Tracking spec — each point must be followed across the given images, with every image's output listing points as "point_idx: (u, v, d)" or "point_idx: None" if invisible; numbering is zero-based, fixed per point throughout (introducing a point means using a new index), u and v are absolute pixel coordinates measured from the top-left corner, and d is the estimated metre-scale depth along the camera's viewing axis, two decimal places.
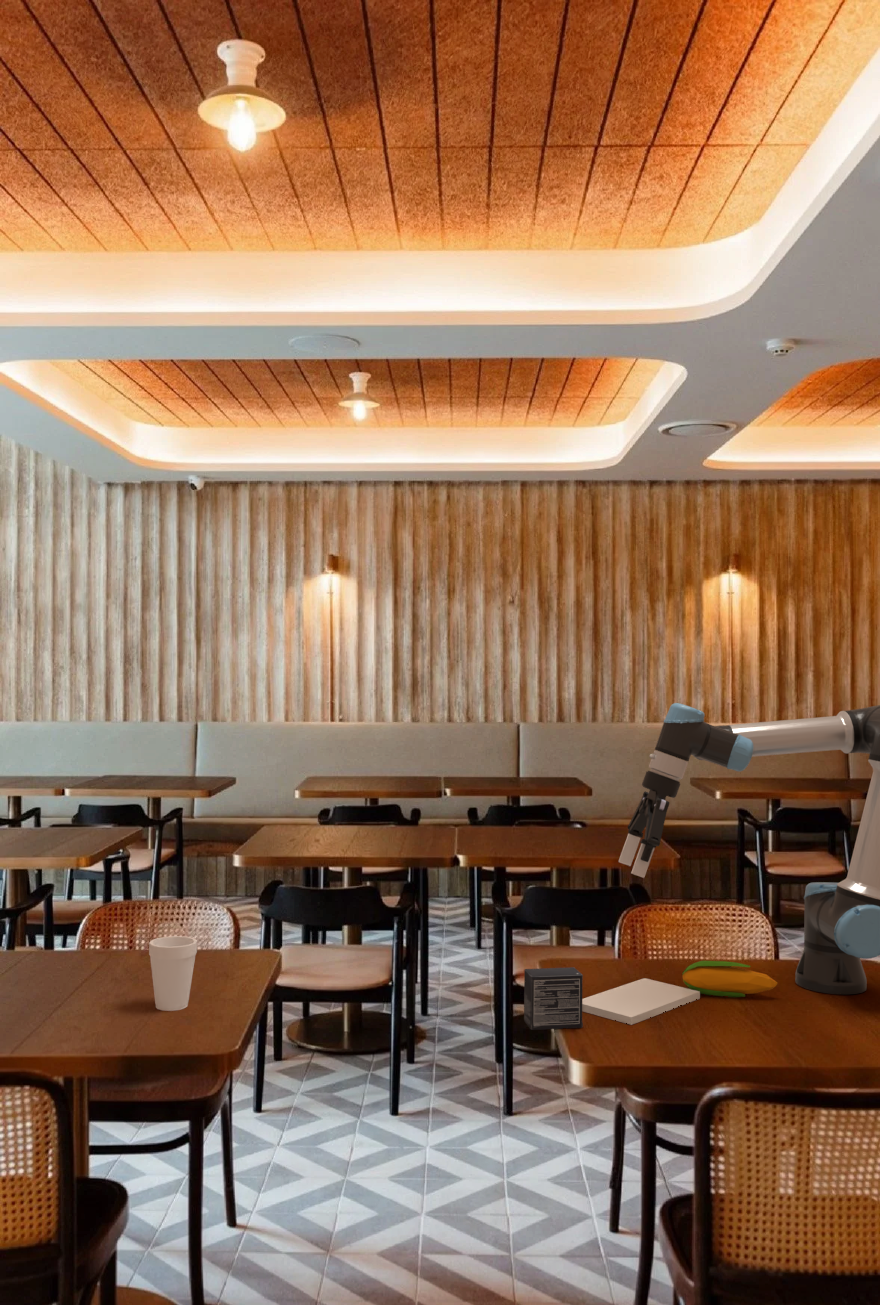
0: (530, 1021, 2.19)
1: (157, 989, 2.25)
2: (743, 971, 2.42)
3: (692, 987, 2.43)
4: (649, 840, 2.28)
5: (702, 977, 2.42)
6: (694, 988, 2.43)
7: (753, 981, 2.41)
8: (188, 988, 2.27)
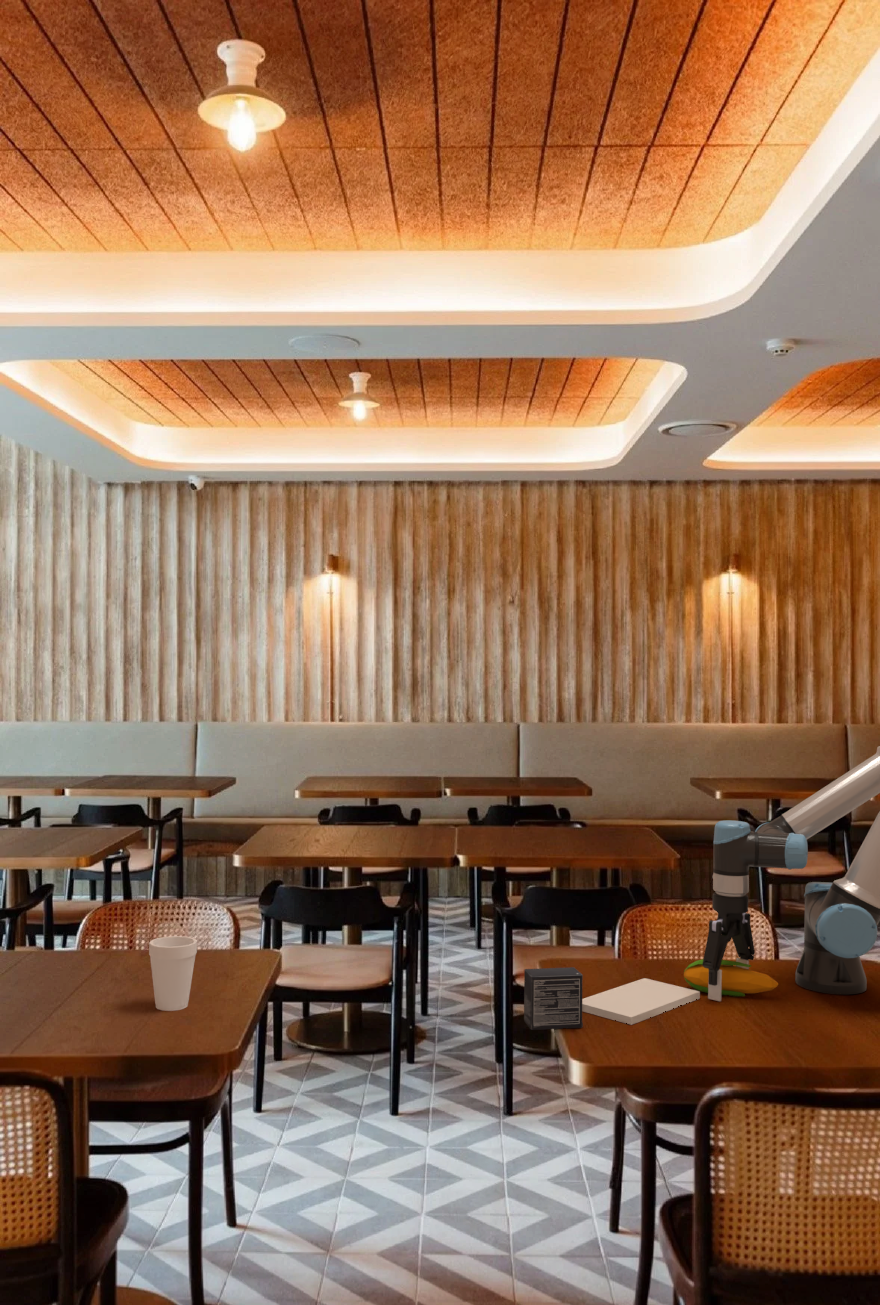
0: (530, 1021, 2.19)
1: (157, 989, 2.25)
2: (743, 971, 2.43)
3: (692, 984, 2.45)
4: (703, 965, 2.38)
5: (701, 975, 2.44)
6: (694, 986, 2.45)
7: (752, 981, 2.41)
8: (188, 988, 2.27)
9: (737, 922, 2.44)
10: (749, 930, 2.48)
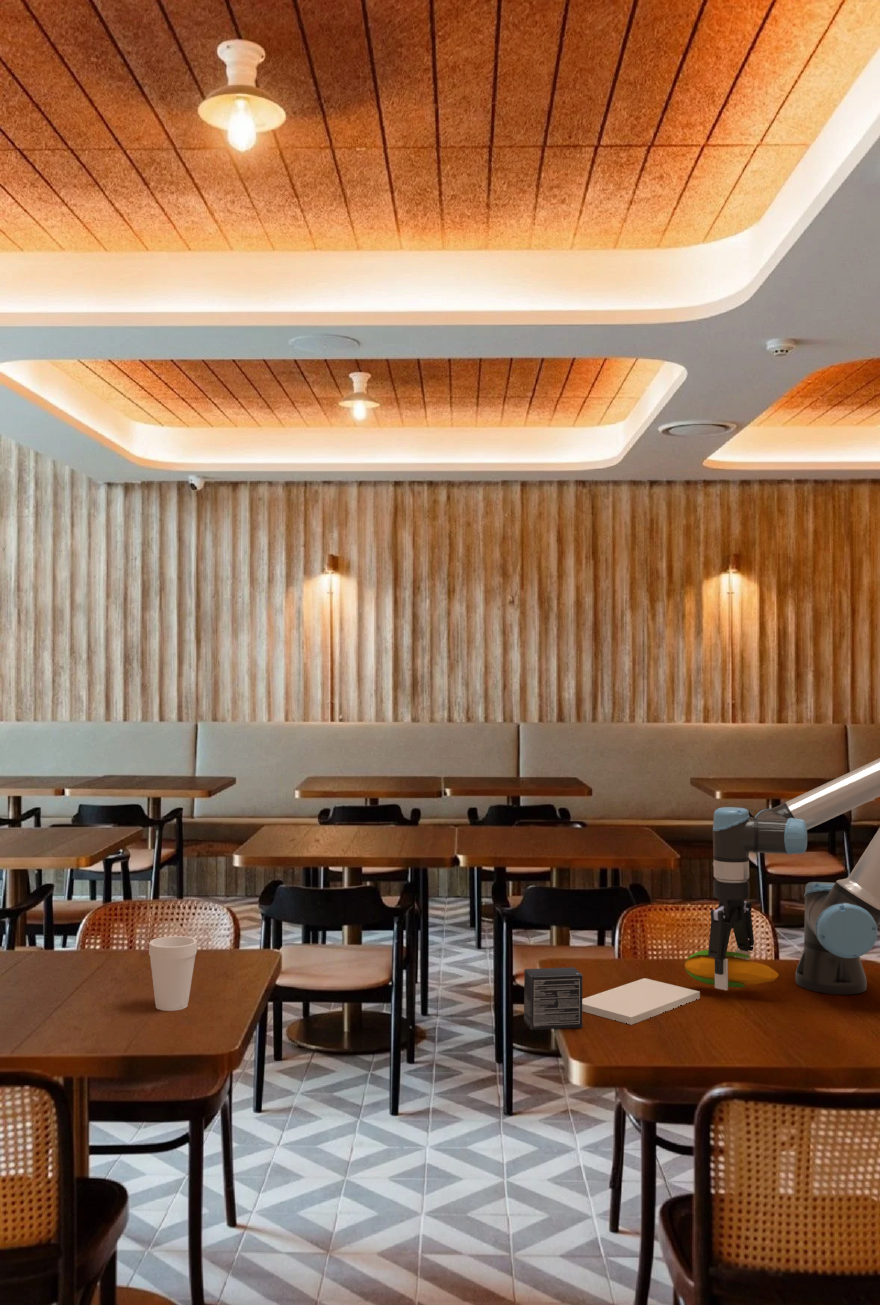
0: (530, 1021, 2.19)
1: (157, 989, 2.25)
2: (743, 961, 2.42)
3: (692, 975, 2.45)
4: (709, 954, 2.39)
5: (700, 965, 2.44)
6: (694, 976, 2.45)
7: (752, 972, 2.40)
8: (188, 988, 2.27)
9: (739, 908, 2.44)
10: (750, 919, 2.48)
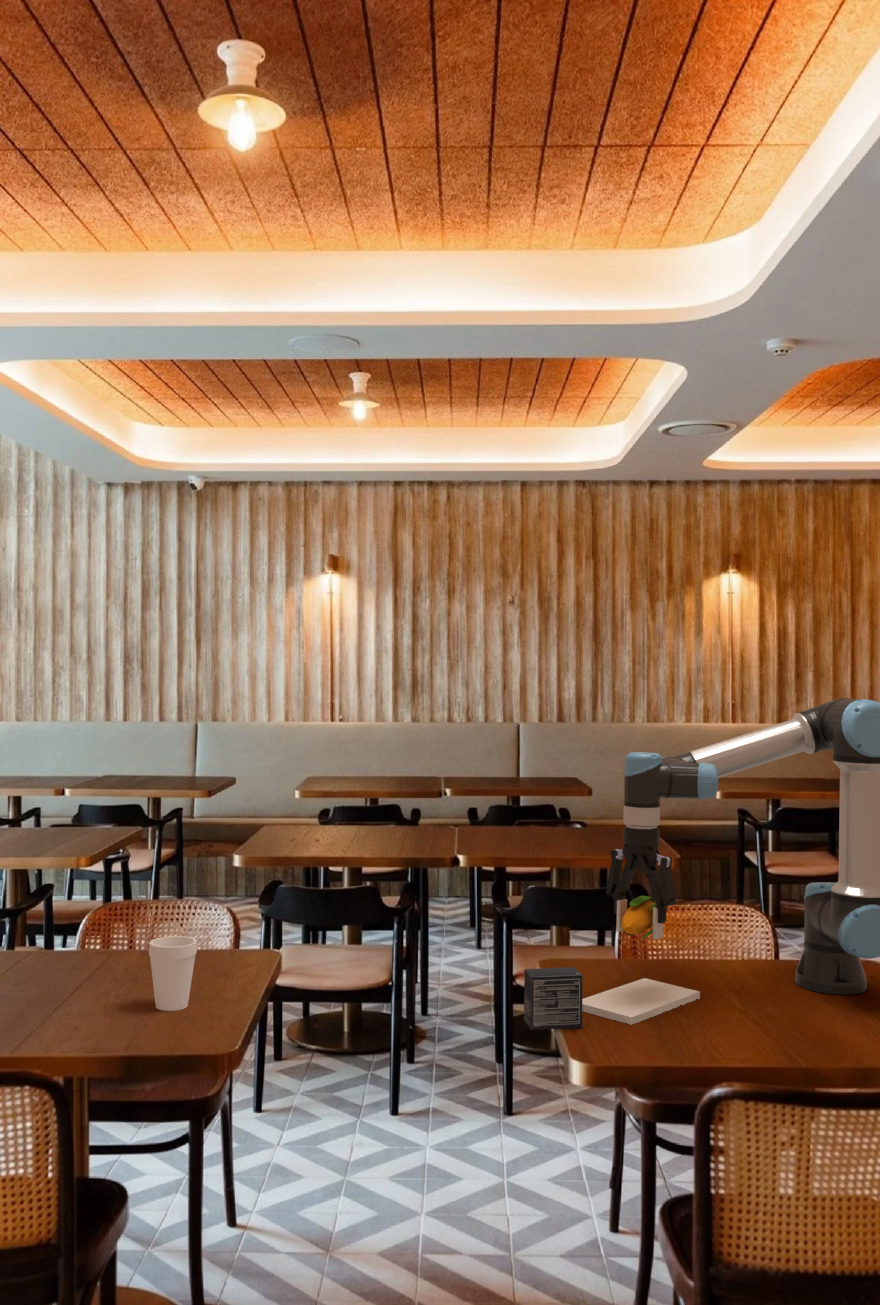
0: (530, 1021, 2.19)
1: (157, 989, 2.25)
2: (630, 909, 2.35)
3: None
4: None
5: None
6: None
7: (622, 918, 2.33)
8: (188, 988, 2.27)
9: None
10: (662, 876, 2.32)
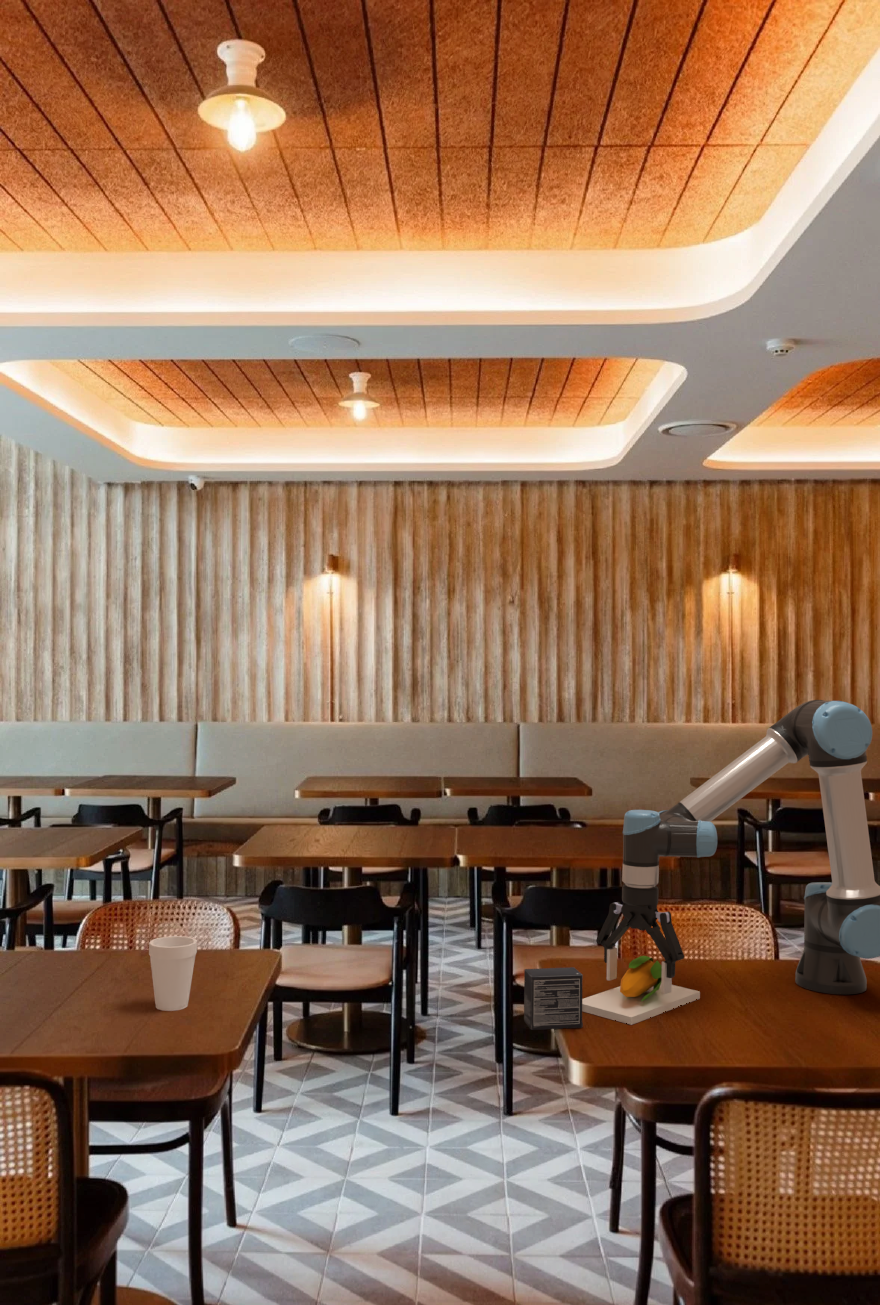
0: (530, 1021, 2.19)
1: (157, 989, 2.25)
2: (629, 971, 2.35)
3: None
4: None
5: None
6: None
7: (621, 980, 2.33)
8: (188, 988, 2.27)
9: None
10: (665, 931, 2.31)
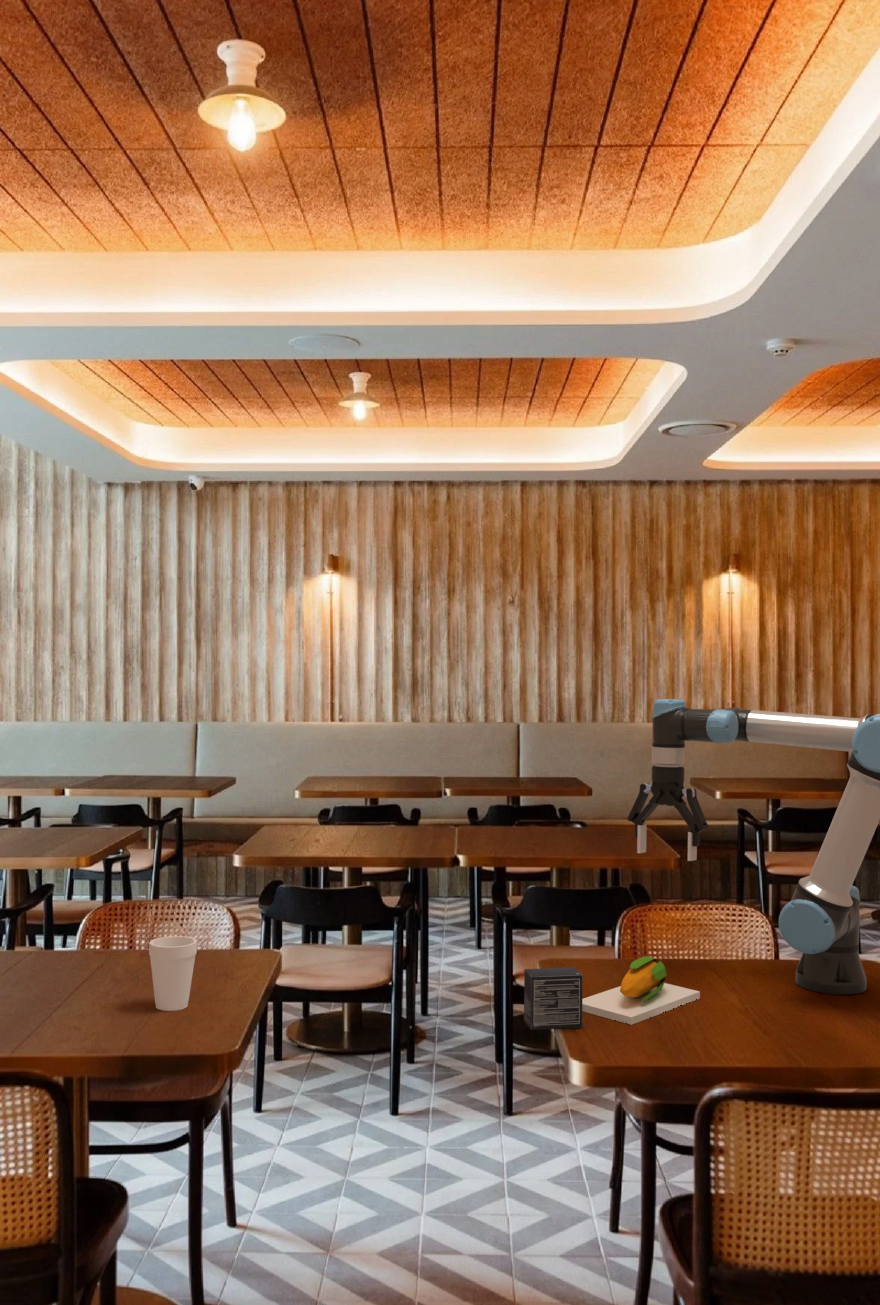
0: (530, 1021, 2.19)
1: (157, 989, 2.25)
2: (630, 971, 2.34)
3: None
4: None
5: None
6: None
7: (622, 981, 2.33)
8: (188, 988, 2.27)
9: None
10: (690, 805, 2.57)
